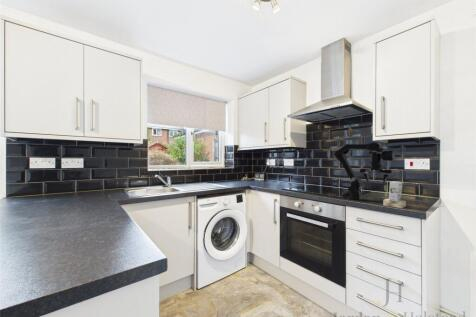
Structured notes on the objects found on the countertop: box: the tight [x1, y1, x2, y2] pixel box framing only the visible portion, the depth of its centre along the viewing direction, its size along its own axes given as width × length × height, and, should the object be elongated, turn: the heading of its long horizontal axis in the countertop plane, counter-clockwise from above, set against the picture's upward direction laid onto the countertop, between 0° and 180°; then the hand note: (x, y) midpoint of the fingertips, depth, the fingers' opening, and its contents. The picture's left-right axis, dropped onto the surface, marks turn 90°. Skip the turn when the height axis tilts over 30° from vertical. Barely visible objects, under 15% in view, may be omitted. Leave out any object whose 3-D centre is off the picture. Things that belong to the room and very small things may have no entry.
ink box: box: [388, 180, 403, 202], centre depth 132 cm, size 8×5×12 cm, turn 130°
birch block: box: [382, 198, 407, 209], centre depth 132 cm, size 10×7×4 cm
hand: (376, 183), depth 142 cm, fingers open, 9 cm apart
